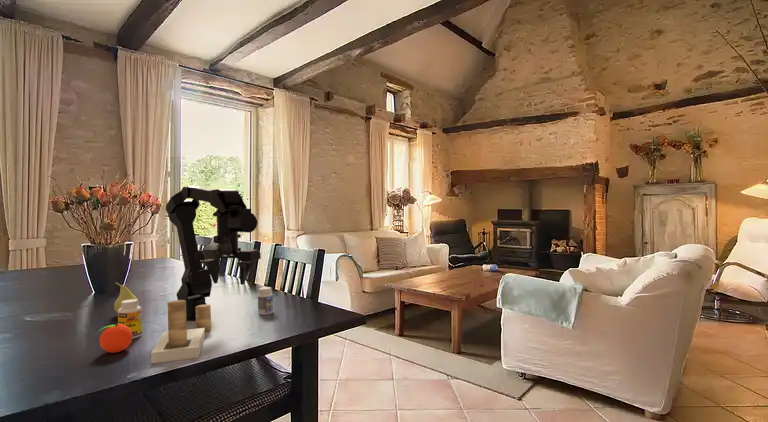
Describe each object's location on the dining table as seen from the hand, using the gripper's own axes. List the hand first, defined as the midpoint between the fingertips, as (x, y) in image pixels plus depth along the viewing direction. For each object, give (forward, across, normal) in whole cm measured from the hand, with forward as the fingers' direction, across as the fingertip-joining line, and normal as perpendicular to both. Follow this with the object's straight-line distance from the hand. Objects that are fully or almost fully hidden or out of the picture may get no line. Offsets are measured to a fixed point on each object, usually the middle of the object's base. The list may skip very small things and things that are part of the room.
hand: (228, 283), depth 119 cm
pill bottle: (+13, +2, +16) cm, 21 cm away
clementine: (+13, -16, -24) cm, 32 cm away
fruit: (+13, -43, +3) cm, 45 cm away
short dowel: (+13, -6, -4) cm, 15 cm away
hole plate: (+13, -1, -18) cm, 22 cm away
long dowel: (+13, +1, -21) cm, 25 cm away
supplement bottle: (+13, -22, -14) cm, 29 cm away
